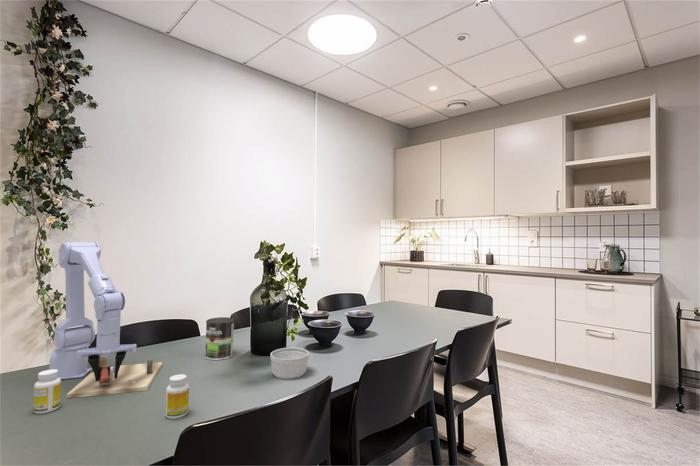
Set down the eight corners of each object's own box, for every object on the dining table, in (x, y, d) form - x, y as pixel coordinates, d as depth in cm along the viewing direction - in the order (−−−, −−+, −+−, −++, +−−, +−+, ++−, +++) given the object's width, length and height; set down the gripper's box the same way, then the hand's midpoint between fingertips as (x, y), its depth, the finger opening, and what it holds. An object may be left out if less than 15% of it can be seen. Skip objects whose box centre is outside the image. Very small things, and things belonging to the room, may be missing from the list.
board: (66, 398, 98) (67, 379, 99) (97, 370, 119) (97, 354, 120) (146, 390, 105) (147, 372, 105) (162, 365, 125) (162, 350, 126)
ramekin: (314, 369, 125) (314, 349, 125) (299, 383, 112) (299, 361, 112) (280, 364, 128) (281, 345, 129) (262, 378, 116) (263, 357, 116)
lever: (105, 369, 116) (105, 352, 117) (119, 368, 118) (119, 351, 118) (95, 388, 102) (95, 369, 102) (111, 386, 104) (112, 367, 104)
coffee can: (223, 361, 131) (224, 323, 131) (199, 359, 133) (200, 321, 134) (238, 353, 141) (239, 318, 141) (215, 350, 143) (216, 316, 144)
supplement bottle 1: (57, 402, 96) (59, 366, 96) (62, 408, 93) (63, 371, 93) (31, 409, 92) (32, 372, 92) (35, 416, 88) (36, 377, 89)
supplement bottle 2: (162, 414, 91) (163, 376, 91) (183, 407, 94) (184, 371, 95) (169, 421, 87) (171, 382, 87) (191, 414, 91) (192, 377, 91)
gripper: (75, 339, 98) (73, 388, 97) (136, 333, 105) (134, 379, 104) (80, 333, 104) (78, 379, 103) (137, 328, 111) (135, 371, 111)
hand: (106, 378), depth 104 cm, fingers open, 4 cm apart
